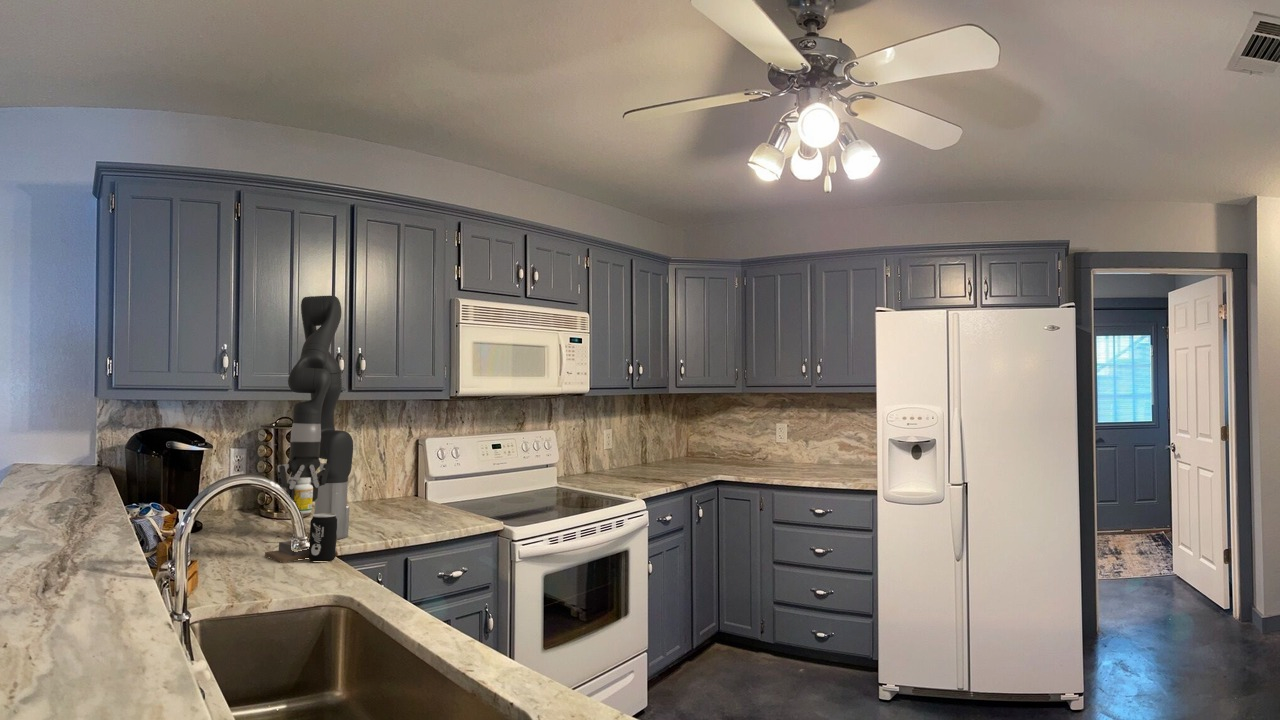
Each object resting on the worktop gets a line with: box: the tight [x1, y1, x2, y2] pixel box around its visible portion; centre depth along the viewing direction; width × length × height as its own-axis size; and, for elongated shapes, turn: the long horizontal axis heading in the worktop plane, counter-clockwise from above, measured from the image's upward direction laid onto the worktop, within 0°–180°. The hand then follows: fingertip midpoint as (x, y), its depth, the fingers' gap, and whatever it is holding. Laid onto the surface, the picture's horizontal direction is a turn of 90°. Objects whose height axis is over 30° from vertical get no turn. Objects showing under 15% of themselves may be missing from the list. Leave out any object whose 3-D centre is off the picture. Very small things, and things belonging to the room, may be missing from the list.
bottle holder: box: [264, 537, 310, 563], centre depth 191 cm, size 14×11×4 cm
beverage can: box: [308, 513, 338, 562], centre depth 186 cm, size 7×7×12 cm
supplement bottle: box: [293, 477, 313, 515], centre depth 192 cm, size 5×5×10 cm
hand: (301, 501), depth 192 cm, fingers closed on supplement bottle, 5 cm apart
